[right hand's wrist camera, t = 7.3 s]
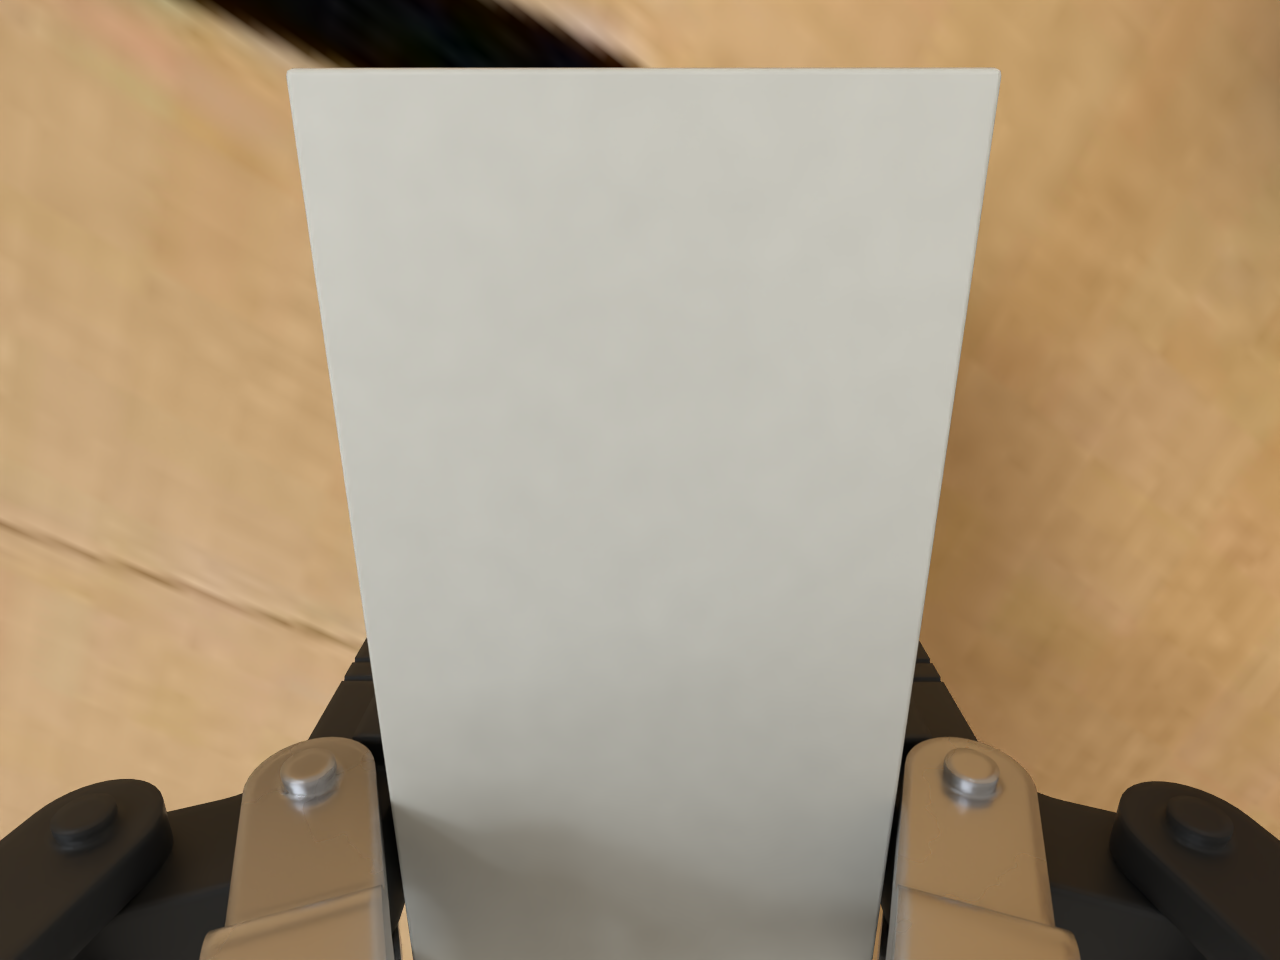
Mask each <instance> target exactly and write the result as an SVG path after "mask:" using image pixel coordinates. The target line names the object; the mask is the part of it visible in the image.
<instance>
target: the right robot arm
mask: <svg viewBox="0 0 1280 960" xmlns="http://www.w3.org/2000/svg"><path fill="white" fill-rule="evenodd" d="M404 904H405V898H404V891H403V884H402V877H401V871H400V864H399V857H398V850H397V843H396V836H395V829H394V822H393V815H392V808H391V801H390V794H389V787H388V780H387V773H386V766H385V759H384V752H383V745H382V738H381V731H380V724H379V717H378V710H377V703H376V697H375V690H374V683H373V676H372V669H371V662H370V655H369V648H368V641H367V638H366V640H365V642H364V643H363V645H362V647H361V649H360V650H359V652H358V654H357V656H356V657H355V662H353V663H352V664H351V666H350V668H349V669H348V671H347V673H346V675H345V680H344V681H342V682H341V683H340V685H339V687H338V689H337V690H336V692H335V694H334V696H333V697H332V699H331V701H330V703H329V704H328V706H327V708H326V709H325V711H324V713H323V715H322V716H321V718H320V720H319V722H318V723H317V725H316V727H315V729H314V730H313V732H312V734H311V736H310V737H309V739H308V740H306V741H303V742H299V743H297V744H294V745H291V746H289V747H287V748H285V749H282V750H280V751H279V752H277V753H275V754H274V755H272V756H270V757H269V758H268V759H266V760H265V761H264V762H262V763H261V764H260V765H259V766H258V767H257V768H256V769H255V770H254V771H253V773H252V774H251V775H250V777H249V778H248V780H247V782H246V784H245V787H244V790H243V793H242V794H239V795H237V796H233V797H230V798H226V799H222V800H218V801H214V802H209V803H205V804H200V805H196V806H192V807H187V808H183V809H178V810H174V811H170V812H167V811H166V808H165V804H164V800H163V797H162V795H161V792H160V791H159V790H158V789H157V788H156V787H155V786H154V785H152V784H150V783H148V782H145V781H141V780H135V779H117V780H109V781H104V782H100V783H95V784H92V785H89V786H86V787H83V788H80V789H78V790H75V791H73V792H70V793H68V794H66V795H64V796H62V797H60V798H58V799H56V800H55V801H53V802H51V803H49V804H48V805H46V806H45V807H43V808H42V809H40V810H39V811H38V812H36V813H35V814H33V815H32V816H31V817H30V818H28V819H27V820H26V821H25V822H23V823H22V824H21V825H20V826H18V827H17V828H16V829H15V830H13V831H12V832H11V833H9V834H8V835H7V836H6V837H4V838H3V839H2V840H1V841H0V960H403V955H402V944H401V935H400V929H399V919H400V916H401V913H402V910H403V907H404ZM881 906H882V909H883V915H882V922H881V929H880V935H879V945H878V955H877V960H1280V841H1279V840H1278V839H1277V838H1276V837H1274V836H1273V835H1272V834H1271V833H1269V832H1268V831H1267V830H1265V829H1264V828H1263V827H1262V826H1260V825H1259V824H1258V823H1257V822H1255V821H1254V820H1253V819H1252V818H1250V817H1249V816H1248V815H1246V814H1245V813H1243V812H1242V811H1241V810H1239V809H1238V808H1236V807H1234V806H1233V805H1231V804H1229V803H1228V802H1226V801H1224V800H1222V799H1220V798H1218V797H1216V796H1214V795H1212V794H1209V793H1207V792H1204V791H1202V790H1199V789H1196V788H1193V787H1189V786H1186V785H1181V784H1177V783H1170V782H1159V781H1151V782H1143V783H1139V784H1136V785H1133V786H1132V787H1130V788H1128V789H1127V790H1126V791H1125V792H1124V793H1123V794H1122V797H1121V799H1120V802H1119V806H1118V809H1117V813H1115V812H1111V811H1106V810H1102V809H1097V808H1093V807H1089V806H1084V805H1080V804H1075V803H1071V802H1067V801H1063V800H1059V799H1055V798H1052V797H1049V796H1046V795H1043V794H1040V793H1038V792H1037V790H1036V787H1035V784H1034V782H1033V780H1032V778H1031V777H1030V775H1029V774H1028V773H1027V771H1026V770H1025V769H1024V768H1023V767H1022V766H1021V765H1020V764H1019V763H1018V762H1016V761H1015V760H1014V759H1012V758H1011V757H1010V756H1008V755H1006V754H1005V753H1003V752H1001V751H1000V750H998V749H995V748H993V747H991V746H989V745H986V744H983V743H981V742H978V741H977V739H976V737H975V736H974V734H973V732H972V731H971V729H970V727H969V725H968V724H967V722H966V720H965V719H964V717H963V715H962V713H961V712H960V710H959V708H958V707H957V705H956V703H955V701H954V700H953V698H952V696H951V695H950V693H949V691H948V689H947V688H946V686H945V684H944V683H943V682H941V680H940V676H939V674H938V672H937V671H936V669H935V667H934V665H933V664H932V663H930V659H929V657H928V655H927V653H926V652H925V650H924V648H923V647H922V645H921V643H920V641H919V643H918V650H917V656H916V663H915V670H914V677H913V684H912V691H911V698H910V704H909V711H908V718H907V725H906V732H905V739H904V746H903V752H902V759H901V766H900V773H899V780H898V787H897V794H896V800H895V807H894V814H893V821H892V828H891V835H890V842H889V848H888V855H887V862H886V869H885V876H884V883H883V890H882V896H881Z"/></svg>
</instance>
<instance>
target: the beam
mask: <svg viewBox="0 0 1280 960" xmlns="http://www.w3.org/2000/svg"><path fill="white" fill-rule="evenodd" d="M286 77H287V84H288V91H289V98H290V105H291V112H292V119H293V126H294V133H295V140H296V147H297V154H298V161H299V168H300V175H301V181H302V188H303V195H304V202H305V209H306V216H307V223H308V230H309V237H310V244H311V251H312V258H313V265H314V272H315V279H316V286H317V293H318V300H319V307H320V314H321V321H322V328H323V335H324V342H325V349H326V355H327V362H328V369H329V376H330V383H331V390H332V397H333V404H334V411H335V418H336V425H337V432H338V439H339V446H340V453H341V460H342V467H343V474H344V481H345V488H346V495H347V502H348V509H349V516H350V523H351V529H352V536H353V543H354V550H355V557H356V564H357V571H358V578H359V585H360V592H361V599H362V606H363V613H364V620H365V627H366V634H367V641H368V648H369V655H370V662H371V669H372V676H373V683H374V690H375V697H376V703H377V710H378V717H379V724H380V731H381V738H382V745H383V752H384V759H385V766H386V773H387V780H388V787H389V794H390V801H391V808H392V815H393V822H394V829H395V836H396V843H397V850H398V857H399V864H400V871H401V877H402V884H403V891H404V898H405V905H406V912H407V919H408V926H409V933H410V940H411V947H412V954H413V960H872V958H873V951H874V944H875V938H876V931H877V924H878V917H879V910H880V903H881V896H882V890H883V883H884V876H885V869H886V862H887V855H888V848H889V842H890V835H891V828H892V821H893V814H894V807H895V800H896V794H897V787H898V780H899V773H900V766H901V759H902V752H903V746H904V739H905V732H906V725H907V718H908V711H909V704H910V698H911V691H912V684H913V677H914V670H915V663H916V656H917V650H918V643H919V636H920V629H921V622H922V615H923V608H924V602H925V595H926V588H927V581H928V574H929V567H930V560H931V554H932V547H933V540H934V533H935V526H936V519H937V512H938V506H939V499H940V492H941V485H942V478H943V471H944V464H945V458H946V451H947V444H948V437H949V430H950V423H951V416H952V410H953V403H954V396H955V389H956V382H957V375H958V369H959V362H960V355H961V348H962V341H963V334H964V327H965V321H966V314H967V307H968V300H969V293H970V286H971V279H972V273H973V266H974V259H975V252H976V245H977V238H978V231H979V225H980V218H981V211H982V204H983V197H984V190H985V183H986V177H987V170H988V163H989V156H990V149H991V142H992V135H993V129H994V122H995V115H996V108H997V101H998V94H999V87H1000V81H1001V71H1000V70H998V69H996V68H292V69H290V70H288V71H287V76H286Z"/></svg>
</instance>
